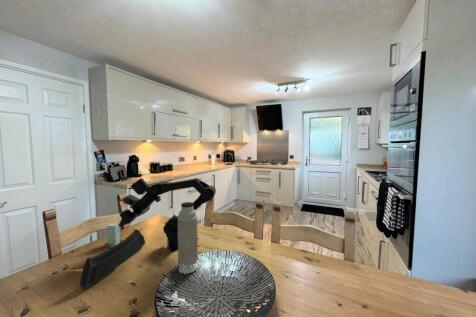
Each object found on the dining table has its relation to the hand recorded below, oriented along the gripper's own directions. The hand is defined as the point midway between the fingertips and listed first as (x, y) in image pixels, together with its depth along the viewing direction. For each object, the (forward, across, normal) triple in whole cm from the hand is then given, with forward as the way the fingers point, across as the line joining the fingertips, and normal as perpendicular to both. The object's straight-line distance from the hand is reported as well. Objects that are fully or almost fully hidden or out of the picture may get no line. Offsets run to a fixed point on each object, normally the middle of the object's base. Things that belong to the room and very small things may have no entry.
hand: (125, 222), depth 101 cm
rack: (+13, 0, +4) cm, 14 cm away
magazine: (+4, +16, +14) cm, 22 cm away
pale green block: (+13, 0, +4) cm, 14 cm away
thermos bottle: (-18, +16, +35) cm, 43 cm away
